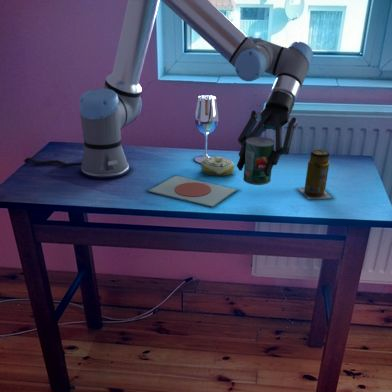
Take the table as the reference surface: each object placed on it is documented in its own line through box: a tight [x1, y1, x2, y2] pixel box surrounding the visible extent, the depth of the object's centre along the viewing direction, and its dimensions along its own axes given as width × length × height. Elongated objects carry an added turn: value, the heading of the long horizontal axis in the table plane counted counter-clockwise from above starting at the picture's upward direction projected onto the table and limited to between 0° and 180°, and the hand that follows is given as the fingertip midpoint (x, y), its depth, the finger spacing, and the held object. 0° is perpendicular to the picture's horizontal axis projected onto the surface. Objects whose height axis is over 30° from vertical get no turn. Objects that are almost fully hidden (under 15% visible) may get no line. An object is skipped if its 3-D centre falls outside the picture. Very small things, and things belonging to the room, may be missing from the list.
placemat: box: [147, 175, 238, 208], centre depth 160 cm, size 22×15×1 cm
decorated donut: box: [200, 156, 236, 177], centre depth 172 cm, size 10×11×4 cm
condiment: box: [298, 149, 332, 200], centre depth 155 cm, size 7×8×12 cm
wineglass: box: [194, 94, 219, 164], centre depth 176 cm, size 8×8×20 cm
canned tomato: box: [242, 136, 275, 186], centre depth 151 cm, size 8×8×11 cm
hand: (252, 171), depth 150 cm, fingers closed on canned tomato, 8 cm apart
